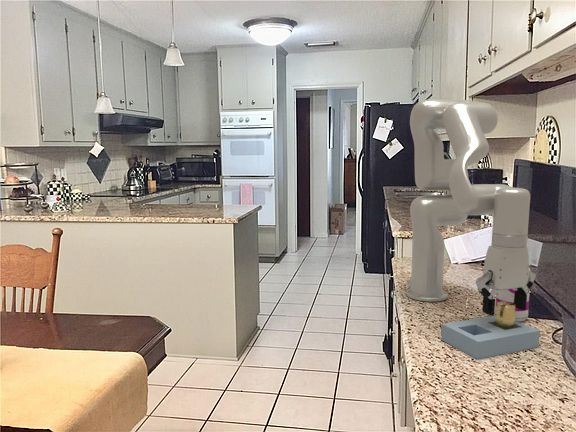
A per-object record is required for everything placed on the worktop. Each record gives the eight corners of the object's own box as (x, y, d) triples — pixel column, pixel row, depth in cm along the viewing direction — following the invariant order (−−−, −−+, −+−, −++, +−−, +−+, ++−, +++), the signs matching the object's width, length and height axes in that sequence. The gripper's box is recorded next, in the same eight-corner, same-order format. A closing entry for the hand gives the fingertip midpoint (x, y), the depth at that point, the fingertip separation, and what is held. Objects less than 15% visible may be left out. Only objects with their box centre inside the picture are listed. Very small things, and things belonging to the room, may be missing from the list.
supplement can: (531, 323, 130) (535, 267, 128) (498, 321, 131) (501, 266, 129) (523, 313, 138) (526, 261, 136) (492, 311, 139) (494, 259, 137)
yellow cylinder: (491, 334, 119) (493, 302, 118) (503, 332, 121) (506, 300, 120) (504, 340, 115) (506, 306, 115) (517, 338, 117) (519, 305, 116)
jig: (441, 339, 119) (442, 324, 118) (499, 329, 125) (500, 314, 125) (477, 359, 108) (478, 341, 107) (538, 347, 114) (539, 330, 114)
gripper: (524, 235, 122) (519, 302, 124) (468, 240, 115) (464, 310, 118) (550, 241, 115) (544, 311, 117) (492, 246, 109) (487, 321, 111)
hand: (504, 311), depth 118 cm, fingers open, 9 cm apart
